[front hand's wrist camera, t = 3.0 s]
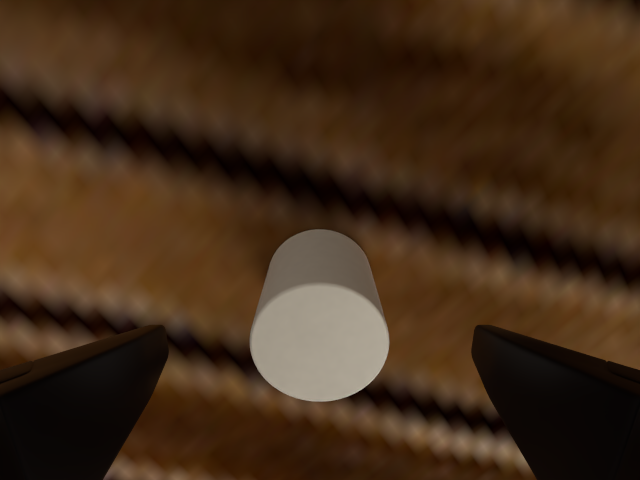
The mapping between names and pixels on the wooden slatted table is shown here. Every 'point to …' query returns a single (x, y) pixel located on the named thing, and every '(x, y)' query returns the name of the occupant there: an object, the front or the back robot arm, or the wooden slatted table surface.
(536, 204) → the wooden slatted table surface
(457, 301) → the wooden slatted table surface
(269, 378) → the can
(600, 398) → the front robot arm
